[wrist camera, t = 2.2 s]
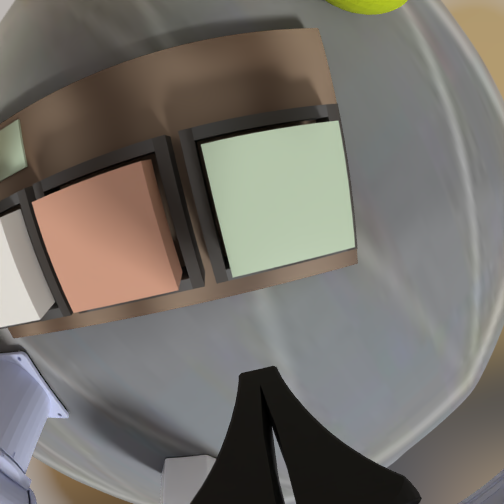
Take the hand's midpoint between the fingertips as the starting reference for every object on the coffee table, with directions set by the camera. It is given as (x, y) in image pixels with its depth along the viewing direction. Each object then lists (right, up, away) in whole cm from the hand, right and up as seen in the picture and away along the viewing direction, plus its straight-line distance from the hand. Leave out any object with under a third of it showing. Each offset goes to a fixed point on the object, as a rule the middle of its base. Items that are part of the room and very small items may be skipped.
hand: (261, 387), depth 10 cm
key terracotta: (-7, +6, +3) cm, 10 cm away
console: (-8, +8, +5) cm, 12 cm away
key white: (-15, +4, +2) cm, 16 cm away
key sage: (+1, +8, +3) cm, 9 cm away
